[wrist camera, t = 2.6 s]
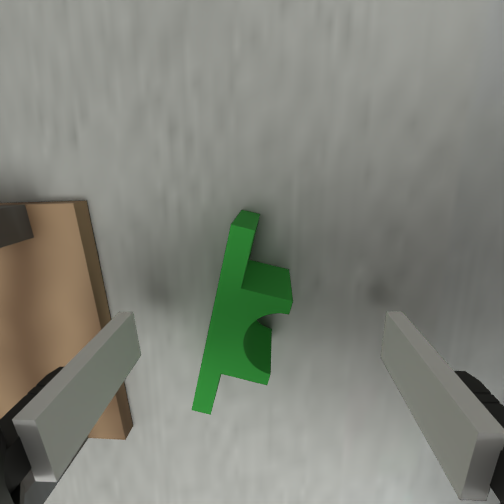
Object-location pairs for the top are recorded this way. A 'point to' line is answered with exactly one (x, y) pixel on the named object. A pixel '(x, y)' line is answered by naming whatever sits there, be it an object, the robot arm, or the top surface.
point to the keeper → (50, 308)
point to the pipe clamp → (241, 315)
